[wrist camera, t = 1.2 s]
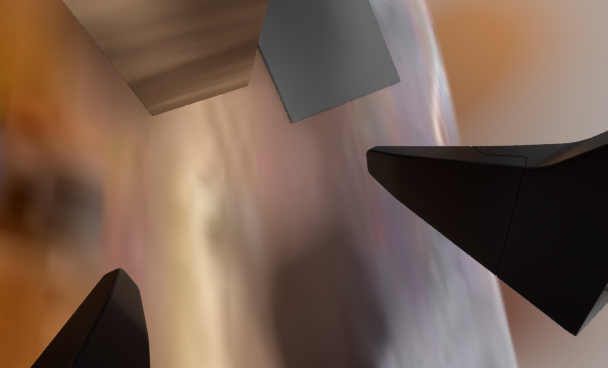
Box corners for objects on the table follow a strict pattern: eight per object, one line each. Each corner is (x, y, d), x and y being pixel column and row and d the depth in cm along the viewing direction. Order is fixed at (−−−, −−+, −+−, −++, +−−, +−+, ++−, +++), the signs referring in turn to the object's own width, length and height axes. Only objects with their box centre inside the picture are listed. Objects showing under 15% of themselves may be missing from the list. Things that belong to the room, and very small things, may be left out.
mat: (397, 82, 25) (400, 80, 24) (291, 123, 21) (292, 121, 21) (332, -79, 24) (334, -84, 23) (210, -62, 20) (210, -67, 20)
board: (247, 85, 21) (283, -60, 9) (152, 116, 18) (44, -23, 7) (228, 42, 20) (240, -163, 9) (129, 67, 18) (-21, -157, 7)
